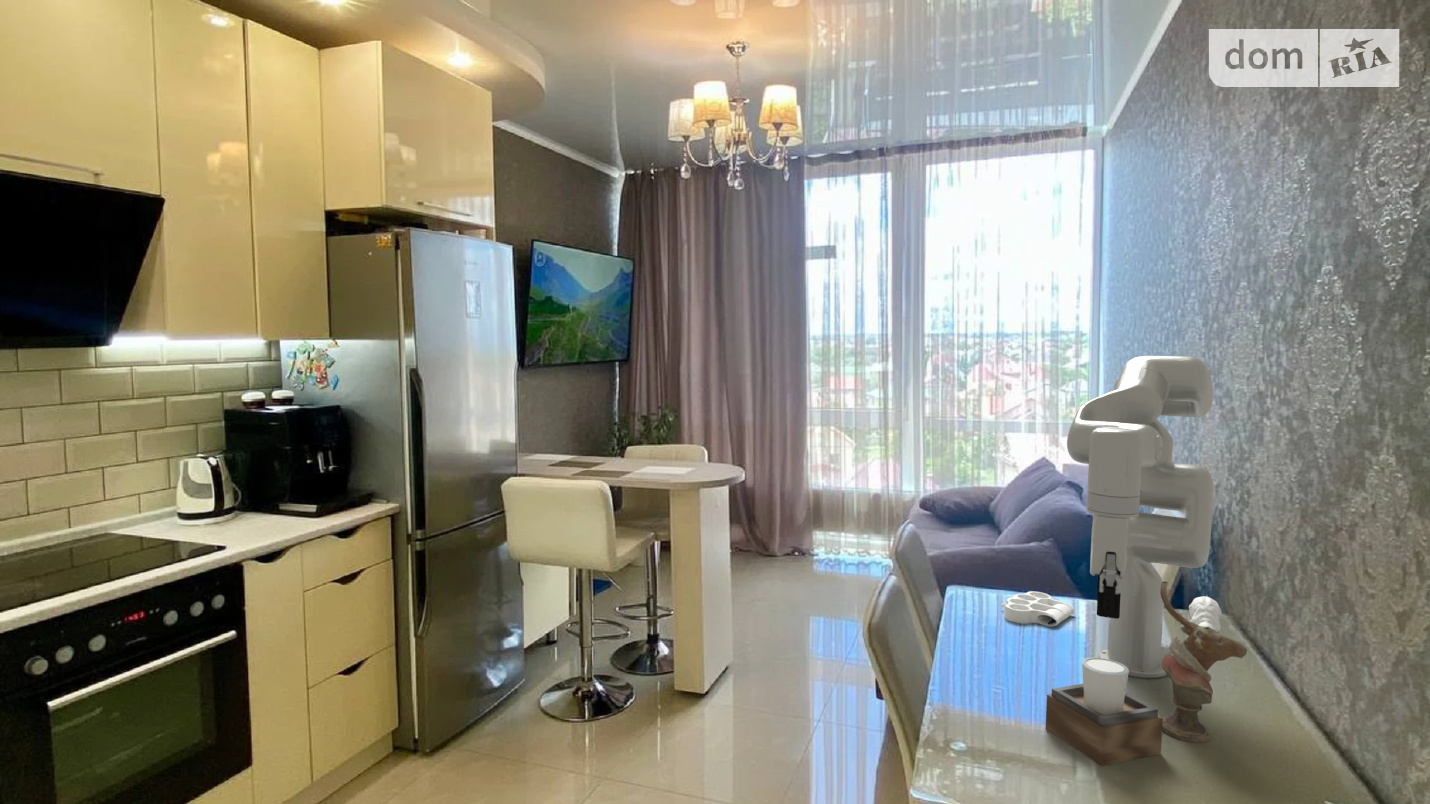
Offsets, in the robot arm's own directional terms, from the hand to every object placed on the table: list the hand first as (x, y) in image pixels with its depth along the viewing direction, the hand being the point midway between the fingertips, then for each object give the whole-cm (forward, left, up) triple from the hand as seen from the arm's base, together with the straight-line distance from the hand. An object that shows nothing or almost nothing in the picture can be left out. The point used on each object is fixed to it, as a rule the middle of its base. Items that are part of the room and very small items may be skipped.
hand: (1107, 607), depth 125 cm
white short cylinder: (+1, +1, -17) cm, 17 cm away
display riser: (0, +1, -22) cm, 22 cm away
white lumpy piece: (-58, -28, -23) cm, 68 cm away
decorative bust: (-17, +4, -23) cm, 28 cm away
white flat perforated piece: (-32, -52, -23) cm, 65 cm away
